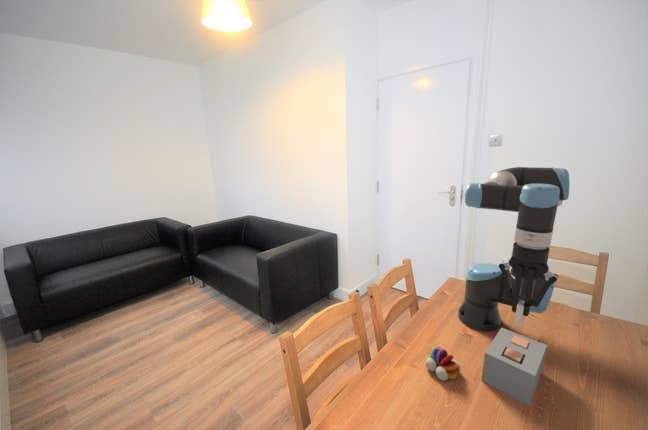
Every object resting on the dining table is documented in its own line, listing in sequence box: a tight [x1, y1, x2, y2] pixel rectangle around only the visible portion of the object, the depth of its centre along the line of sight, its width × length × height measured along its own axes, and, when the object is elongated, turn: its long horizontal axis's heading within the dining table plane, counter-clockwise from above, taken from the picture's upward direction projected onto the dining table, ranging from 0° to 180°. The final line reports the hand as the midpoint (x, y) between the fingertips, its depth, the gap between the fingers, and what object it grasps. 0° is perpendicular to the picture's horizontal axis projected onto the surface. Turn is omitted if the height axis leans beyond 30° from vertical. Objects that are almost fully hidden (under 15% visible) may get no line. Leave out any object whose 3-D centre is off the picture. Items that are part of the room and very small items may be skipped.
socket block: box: [480, 326, 548, 407], centre depth 83 cm, size 12×16×10 cm
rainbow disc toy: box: [425, 347, 462, 382], centre depth 87 cm, size 8×10×7 cm
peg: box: [503, 347, 523, 364], centre depth 81 cm, size 4×4×9 cm
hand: (518, 323), depth 77 cm, fingers closed
